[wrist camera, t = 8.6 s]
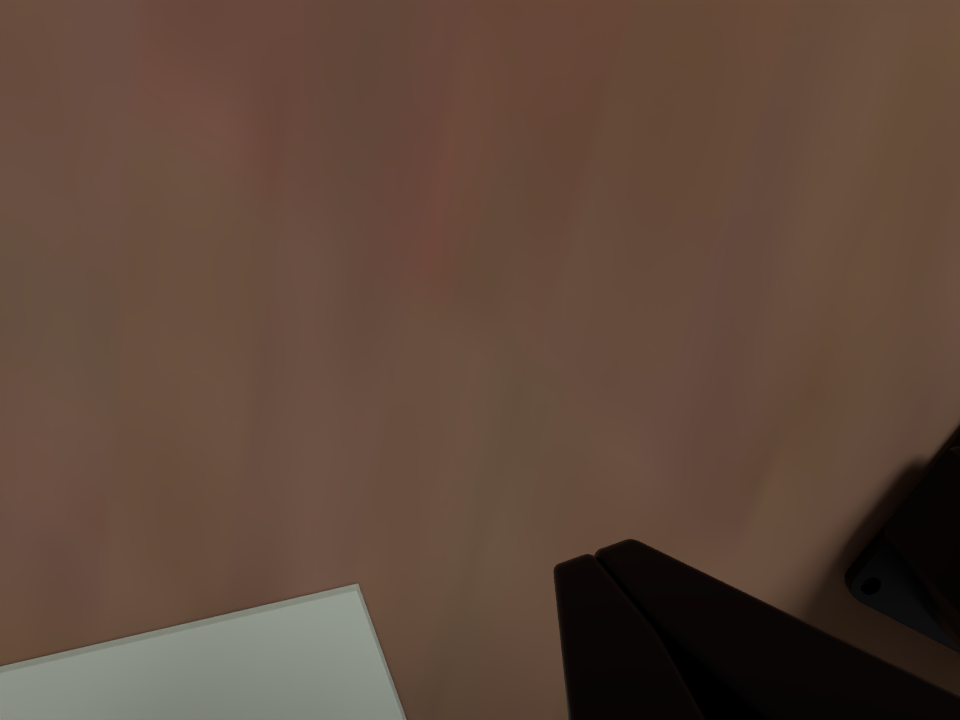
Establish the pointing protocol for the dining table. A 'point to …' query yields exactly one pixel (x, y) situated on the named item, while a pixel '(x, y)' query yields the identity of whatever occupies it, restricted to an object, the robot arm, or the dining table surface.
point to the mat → (220, 669)
